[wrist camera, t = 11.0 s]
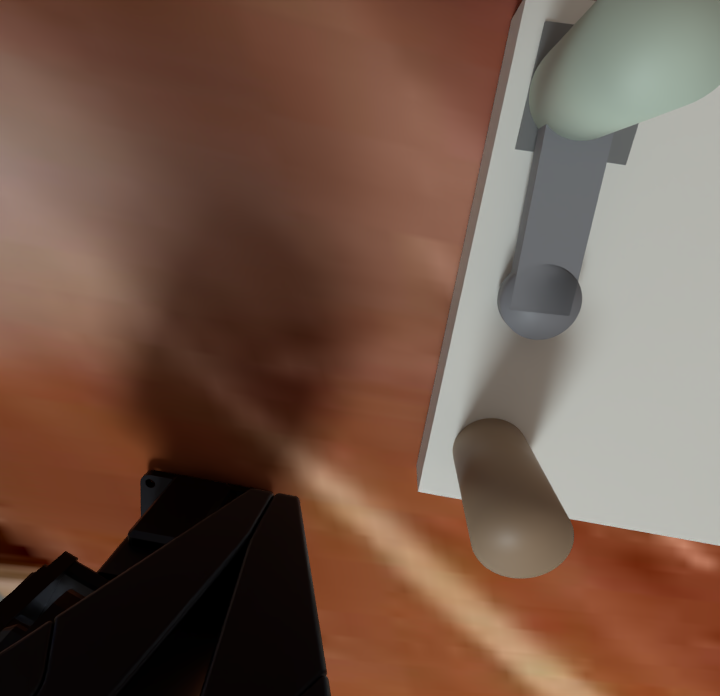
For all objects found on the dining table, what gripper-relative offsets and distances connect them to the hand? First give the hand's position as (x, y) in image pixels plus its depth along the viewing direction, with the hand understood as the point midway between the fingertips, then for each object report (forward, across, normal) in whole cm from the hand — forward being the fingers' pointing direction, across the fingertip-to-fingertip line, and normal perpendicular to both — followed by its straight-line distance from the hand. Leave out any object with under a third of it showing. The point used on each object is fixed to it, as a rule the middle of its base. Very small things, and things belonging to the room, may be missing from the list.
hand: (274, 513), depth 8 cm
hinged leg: (+10, -6, -6) cm, 13 cm away
